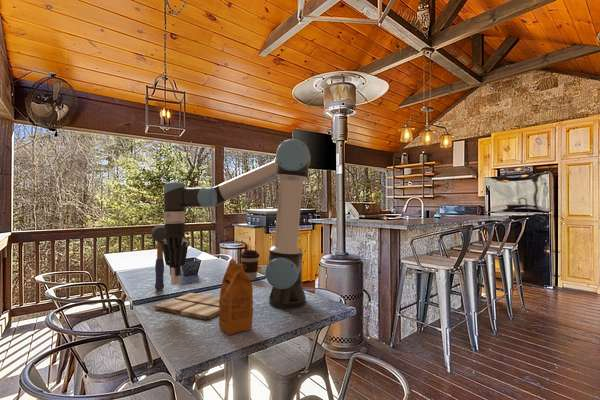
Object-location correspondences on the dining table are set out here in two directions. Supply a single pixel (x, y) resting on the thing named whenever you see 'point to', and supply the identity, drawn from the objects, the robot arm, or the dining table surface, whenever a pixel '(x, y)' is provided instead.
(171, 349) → the dining table surface
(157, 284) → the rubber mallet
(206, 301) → the wooden board
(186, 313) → the plank
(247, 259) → the coffee cup
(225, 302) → the coffee package
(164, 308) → the plank
